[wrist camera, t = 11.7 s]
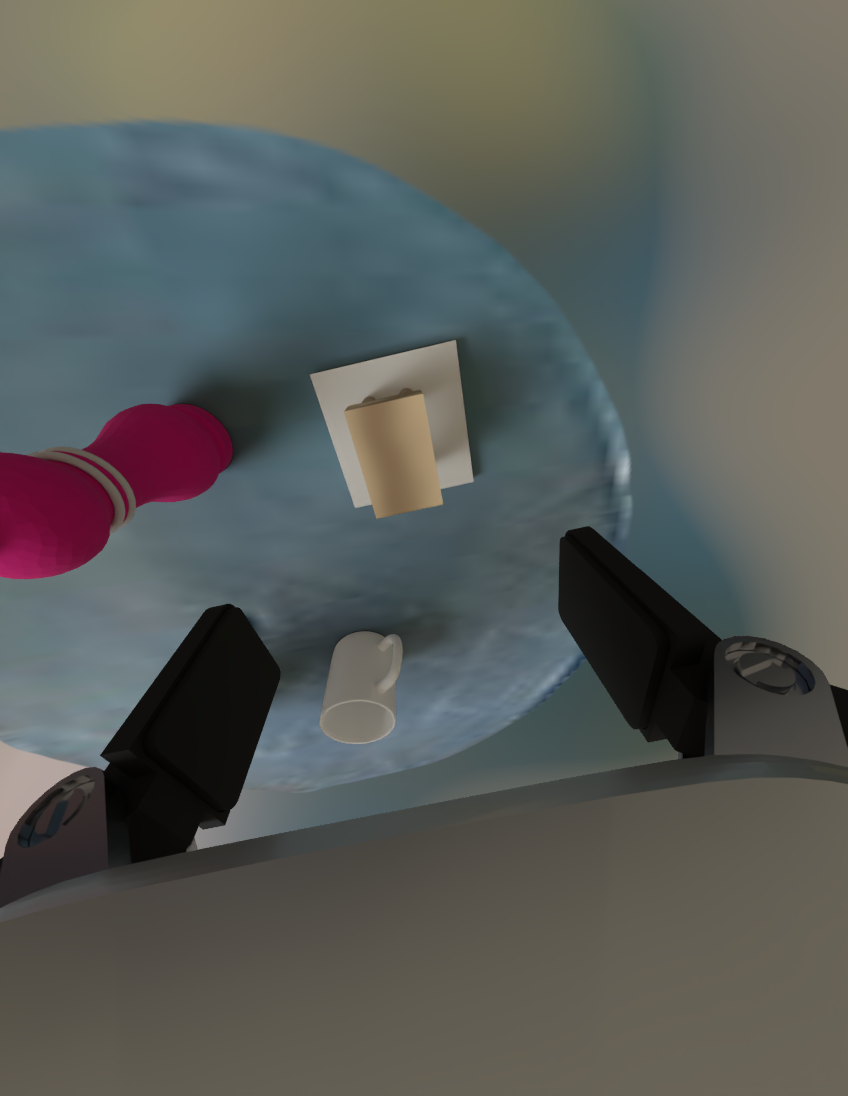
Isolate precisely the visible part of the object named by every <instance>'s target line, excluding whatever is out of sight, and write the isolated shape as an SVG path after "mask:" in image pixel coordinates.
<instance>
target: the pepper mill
mask: <svg viewBox="0 0 848 1096" xmlns="http://www.w3.org/2000/svg"><path fill="white" fill-rule="evenodd" d="M232 454H233V447H232V442H231V439H230V436H229V434H228V432H227V430H226V429H225V428H224V426H223V425H222V424H221V422H220V421H219V420H218V419H216V418H215V417H214V416H213V415H212V414H210V413H209V412H207V411H205V410H204V409H202V408H199V407H197V406H193V405H189V404H175V405H171V406H165V405H160V404H142V405H138V406H134V407H131V408H129V409H126V410H124V411H122V412H119V413H118V414H117V415H116V416H114V417H113V418H112V419H111V420H109V421H108V422H107V423H106V424H105V426H104V427H103V429H102V430H101V432H100V434H99V435H98V437H97V438H96V440H95V441H94V442H93V443H92V444H91V445H89V446H88V447H86V448H84V449H82V450H80V449H76V448H71V447H54V448H49V449H46V450H43V451H41V452H35V453H31V454H28V455H21V454H14V453H1V452H0V577H5V578H12V579H34V578H44V577H51V576H55V575H59V574H63V573H65V572H68V571H71V570H73V569H76V568H78V567H80V566H81V565H83V564H85V563H87V562H88V561H90V560H91V559H92V558H93V557H95V556H96V555H97V554H98V553H99V552H100V551H101V550H102V549H103V548H104V546H105V545H106V543H107V541H108V538H109V536H110V534H112V533H114V532H115V531H117V530H118V529H119V528H120V527H123V526H125V525H126V524H127V523H128V522H129V521H130V520H131V519H132V518H133V516H134V514H135V509H136V508H137V507H139V506H141V505H143V504H145V503H148V502H176V501H182V500H187V499H191V498H193V497H196V496H198V495H200V494H201V493H203V492H205V491H206V490H208V489H209V488H210V487H211V486H212V485H213V484H214V482H215V481H216V479H217V477H218V474H219V473H221V472H222V471H223V470H225V469H226V468H227V466H228V465H229V463H230V462H231V459H232Z"/></svg>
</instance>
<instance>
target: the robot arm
mask: <svg viewBox="0 0 848 1096" xmlns="http://www.w3.org/2000/svg"><path fill="white" fill-rule="evenodd" d="M558 609H559V614H560V617H561V619H562V621H563V623H564V624H565V626H566V627H567V629H568V630H569V632H570V634H571V635H572V637H573V638H574V640H575V641H576V643H577V645H578V646H579V648H580V649H581V651H582V652H583V654H584V655H585V657H586V659H587V660H588V662H589V663H590V664H591V666H592V668H593V669H594V671H595V672H596V674H597V676H598V677H599V679H600V680H601V682H602V684H603V685H604V687H605V688H606V690H607V691H608V693H609V694H610V696H611V698H612V699H613V701H614V702H615V704H616V705H617V707H618V708H619V710H620V712H621V713H622V715H623V716H624V718H625V719H626V721H627V722H628V724H629V725H630V726H631V727H632V728H633V729H639V730H640V731H641V733H642V734H643V736H644V737H645V739H646V740H647V742H653V741H658V740H663V739H668V741H669V742H670V744H671V745H672V747H673V748H674V749H675V750H676V751H678V760H670V761H664V762H658V763H652V764H647V765H640V766H634V767H628V768H622V769H617V770H611V771H605V772H599V773H593V774H587V775H581V776H576V777H571V778H565V779H560V780H555V781H550V782H544V783H539V784H534V785H528V786H523V787H518V788H512V789H508V790H502V791H497V792H491V793H486V794H481V795H476V796H470V797H465V798H459V799H454V800H450V801H444V802H439V803H434V804H429V805H423V806H418V807H413V808H407V809H403V810H397V811H392V812H387V813H382V814H376V815H371V816H366V817H361V818H356V819H351V820H346V821H340V822H336V823H330V824H325V825H320V826H315V827H310V828H304V829H299V830H295V831H289V832H285V833H279V834H275V835H270V836H265V837H259V838H255V839H249V840H244V841H239V842H234V843H230V844H224V845H219V846H214V847H209V848H204V849H199V850H198V849H197V845H196V842H195V838H194V836H195V834H196V831H197V829H198V826H199V827H200V828H202V829H208V828H213V827H218V826H223V825H225V824H226V821H227V818H228V815H229V813H230V809H232V808H233V807H234V806H235V805H236V803H237V801H238V799H239V796H240V793H241V791H242V788H243V785H244V782H245V779H246V776H247V773H248V770H249V767H250V764H251V761H252V759H253V756H254V753H255V750H256V747H257V744H258V741H259V738H260V735H261V732H262V729H263V727H264V724H265V721H266V718H267V715H268V712H269V709H270V706H271V703H272V700H273V697H274V695H275V692H276V689H277V686H278V683H279V680H280V669H279V667H278V665H277V663H276V662H275V660H274V659H273V657H272V656H271V654H270V653H269V651H268V650H267V648H266V647H265V645H264V644H263V642H262V641H261V639H260V637H259V636H258V634H257V633H256V631H255V630H254V628H253V627H252V625H251V624H250V622H249V621H248V619H247V618H246V616H245V615H244V613H243V612H242V610H241V609H240V608H238V607H235V606H233V605H232V604H225V605H221V606H216V607H211V608H208V609H207V610H206V611H205V612H204V613H203V614H202V616H201V617H200V619H199V620H198V621H197V623H196V624H195V625H194V627H193V628H192V630H191V631H190V632H189V634H188V635H187V636H186V638H185V639H184V641H183V642H182V643H181V645H180V646H179V647H178V649H177V650H176V652H175V653H174V654H173V656H172V657H171V658H170V660H169V661H168V663H167V664H166V665H165V667H164V668H163V669H162V671H161V672H160V674H159V675H158V676H157V678H156V679H155V680H154V682H153V683H152V685H151V686H150V687H149V689H148V690H147V691H146V693H145V694H144V696H143V697H142V698H141V700H140V701H139V703H138V704H137V705H136V707H135V708H134V709H133V711H132V712H131V714H130V715H129V716H128V718H127V719H126V720H125V722H124V723H123V725H122V726H121V727H120V729H119V730H118V731H117V733H116V734H115V736H114V737H113V738H112V740H111V741H110V742H109V744H108V745H107V747H106V748H105V749H104V751H103V752H102V753H101V755H100V756H101V757H103V758H104V759H105V760H107V761H108V762H110V764H109V765H108V767H107V768H106V769H105V771H103V770H102V769H99V768H97V767H90V768H84V769H82V770H80V771H77V772H74V773H72V774H71V775H69V776H67V777H66V778H64V779H62V780H61V781H59V782H58V783H56V784H55V785H54V786H53V787H51V788H50V789H49V790H47V791H46V792H45V793H44V794H43V795H42V796H41V797H40V798H38V800H36V801H35V802H34V803H33V804H32V805H31V806H30V807H29V809H28V810H27V811H26V812H25V813H24V815H23V816H22V817H21V818H20V819H19V821H18V822H17V824H16V825H15V827H14V829H13V830H12V832H11V833H10V836H9V838H8V841H7V844H6V847H5V852H4V857H3V858H1V859H0V1096H848V690H846V689H842V688H839V687H836V686H833V685H830V684H829V682H828V680H827V678H826V676H825V675H824V673H823V671H822V670H821V669H820V668H819V667H817V665H815V664H814V663H813V662H812V661H811V660H810V659H808V658H807V657H805V656H804V655H802V654H801V653H799V652H798V651H796V650H793V649H791V648H789V647H787V646H785V645H783V644H780V643H778V642H774V641H771V640H768V639H765V638H759V637H753V636H733V637H729V638H726V639H723V640H721V639H720V638H719V637H718V636H717V635H715V634H714V633H713V632H712V631H711V630H710V629H709V628H708V627H706V626H705V625H704V624H703V623H702V622H700V621H699V620H698V619H697V618H696V617H695V616H694V615H692V614H691V613H690V612H689V611H688V610H687V609H686V608H684V607H683V606H682V605H681V604H680V603H679V602H677V601H676V600H675V599H674V598H673V597H672V596H671V595H669V594H668V593H667V592H666V591H665V590H664V589H662V588H661V587H660V586H659V585H658V584H657V583H656V582H654V581H653V580H652V579H651V578H650V577H649V576H647V575H646V574H645V573H644V572H643V571H641V570H640V569H639V568H638V567H636V566H635V565H634V564H633V563H632V562H631V561H630V560H628V559H627V558H626V557H625V556H624V555H623V554H622V553H620V552H619V551H618V550H617V549H616V548H615V547H613V546H612V545H611V544H610V543H609V542H608V541H607V540H605V539H604V538H603V537H602V536H601V535H600V534H598V533H597V532H596V531H595V530H594V529H593V528H591V527H590V526H587V527H582V528H578V529H573V530H568V531H567V532H566V535H565V537H562V538H561V539H560V557H559V603H558Z"/></svg>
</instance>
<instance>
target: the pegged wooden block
mask: <svg viewBox="0 0 848 1096" xmlns="http://www.w3.org/2000/svg"><path fill="white" fill-rule="evenodd" d="M344 414H345V417H346V421H347V424H348V427H349V430H350V434H351V437H352V440H353V444H354V447H355V450H356V453H357V457H358V460H359V463H360V466H361V470H362V473H363V476H364V480H365V483H366V486H367V489H368V493H369V496H370V499H371V502H372V506H373V509H374V512H375V516H376V519H378V518H382V517H387V516H391V515H396V514H401V513H405V512H410V511H414V510H419V509H424V508H428V507H433V506H438V505H442V504H443V501H442V495H441V490H440V484H439V479H438V473H437V467H436V462H435V456H434V451H433V445H432V440H431V434H430V429H429V423H428V418H427V412H426V407H425V401H424V395H423V393H422V391H421V390H416V391H412V390H411V389H409V388H404V389H402V390H401V391H400V393H399V394H398V395H394V396H390V397H385V398H381V399H375V398H373V397H366V398H365V399H364V400H363V401H362V403H359V404H354V405H350V406H348V407H347V408H346V409H345V411H344Z"/></svg>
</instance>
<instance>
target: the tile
mask: <svg viewBox="0 0 848 1096" xmlns="http://www.w3.org/2000/svg"><path fill="white" fill-rule="evenodd" d="M310 377H311V380H312V383H313V386H314V389H315V392H316V394H317V397H318V400H319V403H320V406H321V409H322V412H323V415H324V418H325V421H326V424H327V427H328V430H329V433H330V435H331V438H332V441H333V444H334V447H335V450H336V453H337V456H338V459H339V462H340V465H341V468H342V471H343V474H344V477H345V479H346V482H347V485H348V488H349V491H350V494H351V497H352V500H353V503H354V506H355V508H358V507H362V506H367V505H371V504H372V502H371V499H370V496H369V493H368V489H367V486H366V483H365V480H364V476H363V473H362V470H361V466H360V463H359V460H358V457H357V453H356V450H355V447H354V444H353V440H352V437H351V434H350V430H349V427H348V424H347V421H346V417H345V414H344V411H345V409H346V408H347V407H348V406H350V405H354V404H359V403H362V401H363V400H364V399H365V398H366V397H373V398H375V399H381V398H385V397H390V396H394V395H398V394H399V393H400V391H401V390H402V389H404V388H409V389H411V390H412V391H416V390H421V391H422V393H423V395H424V401H425V407H426V412H427V418H428V423H429V429H430V434H431V440H432V445H433V451H434V456H435V462H436V467H437V473H438V479H439V484H440V489H444V488H448V487H453V486H457V485H462V484H466V483H471V482H474V481H473V473H472V465H471V457H470V449H469V441H468V433H467V426H466V418H465V410H464V402H463V394H462V386H461V378H460V370H459V362H458V354H457V346H456V340H454V341H449V342H445V343H441V344H437V345H432V346H428V347H424V348H420V349H415V350H411V351H407V352H403V353H398V354H394V355H390V356H386V357H382V358H377V359H373V360H369V361H365V362H360V363H356V364H352V365H348V366H343V367H339V368H335V369H331V370H326V371H322V372H318V373H314V374H310Z"/></svg>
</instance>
